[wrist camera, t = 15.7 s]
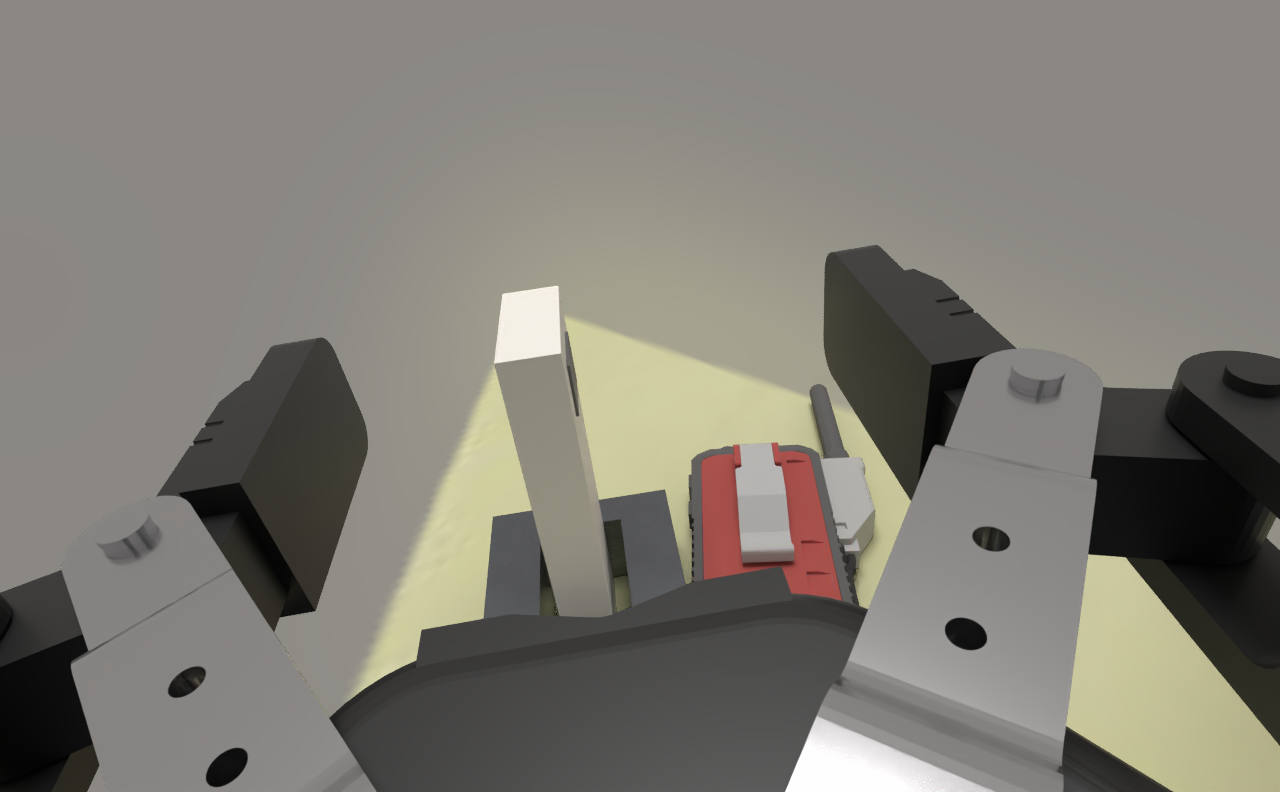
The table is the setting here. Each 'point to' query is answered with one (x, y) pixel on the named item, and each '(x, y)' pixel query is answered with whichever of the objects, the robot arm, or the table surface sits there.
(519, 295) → the white tall block
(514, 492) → the table surface
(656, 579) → the holder
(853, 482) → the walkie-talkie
